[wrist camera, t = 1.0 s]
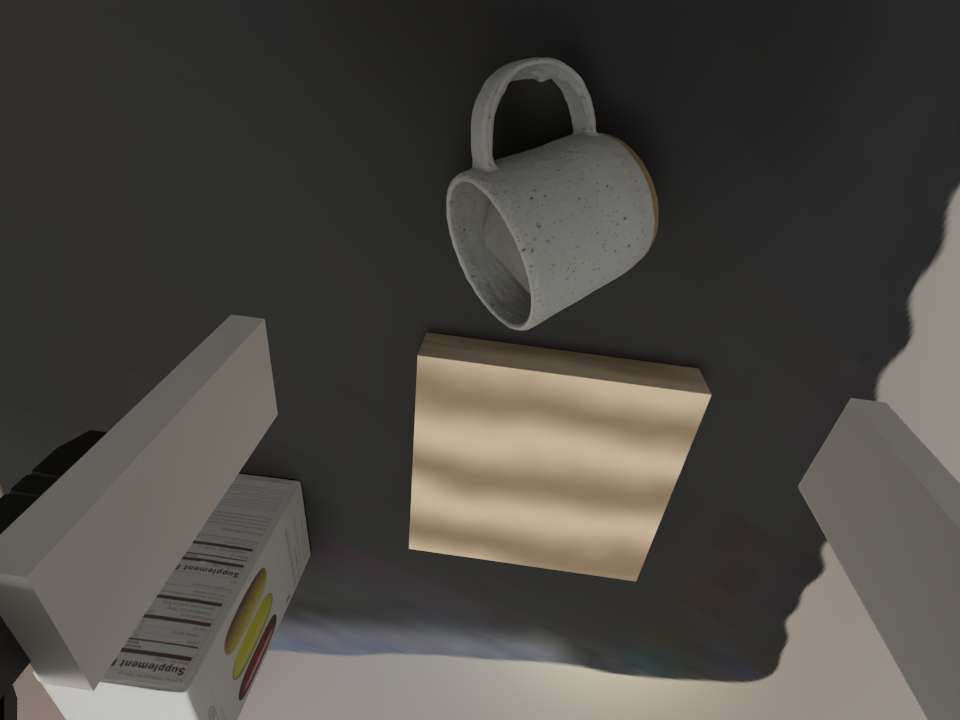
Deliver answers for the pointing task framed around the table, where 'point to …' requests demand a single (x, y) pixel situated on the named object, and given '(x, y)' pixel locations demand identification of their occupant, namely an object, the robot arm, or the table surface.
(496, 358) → the square wooden tile
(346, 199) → the table surface
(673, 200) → the table surface
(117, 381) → the table surface
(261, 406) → the robot arm
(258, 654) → the supplement box
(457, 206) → the ceramic mug
